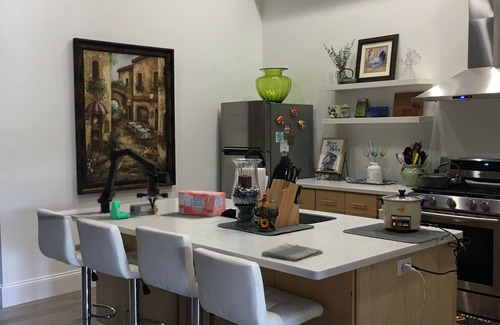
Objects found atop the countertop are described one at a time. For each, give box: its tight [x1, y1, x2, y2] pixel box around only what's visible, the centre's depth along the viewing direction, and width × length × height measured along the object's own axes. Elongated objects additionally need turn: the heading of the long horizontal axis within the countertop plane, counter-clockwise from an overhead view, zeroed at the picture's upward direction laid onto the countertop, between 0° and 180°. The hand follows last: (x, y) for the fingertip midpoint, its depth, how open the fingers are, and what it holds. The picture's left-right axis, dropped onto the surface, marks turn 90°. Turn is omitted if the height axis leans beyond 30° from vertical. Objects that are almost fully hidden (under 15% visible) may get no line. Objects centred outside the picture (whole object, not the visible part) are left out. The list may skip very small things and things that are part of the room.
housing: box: [129, 202, 154, 215], centre depth 347 cm, size 7×14×5 cm, turn 125°
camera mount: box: [109, 200, 131, 220], centre depth 329 cm, size 12×8×10 cm, turn 36°
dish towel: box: [261, 242, 324, 263], centre depth 228 cm, size 19×18×3 cm
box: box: [177, 189, 227, 218], centre depth 335 cm, size 27×13×14 cm, turn 56°
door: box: [153, 203, 159, 215], centre depth 343 cm, size 2×11×5 cm, turn 11°
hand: (152, 209), depth 341 cm, fingers closed
